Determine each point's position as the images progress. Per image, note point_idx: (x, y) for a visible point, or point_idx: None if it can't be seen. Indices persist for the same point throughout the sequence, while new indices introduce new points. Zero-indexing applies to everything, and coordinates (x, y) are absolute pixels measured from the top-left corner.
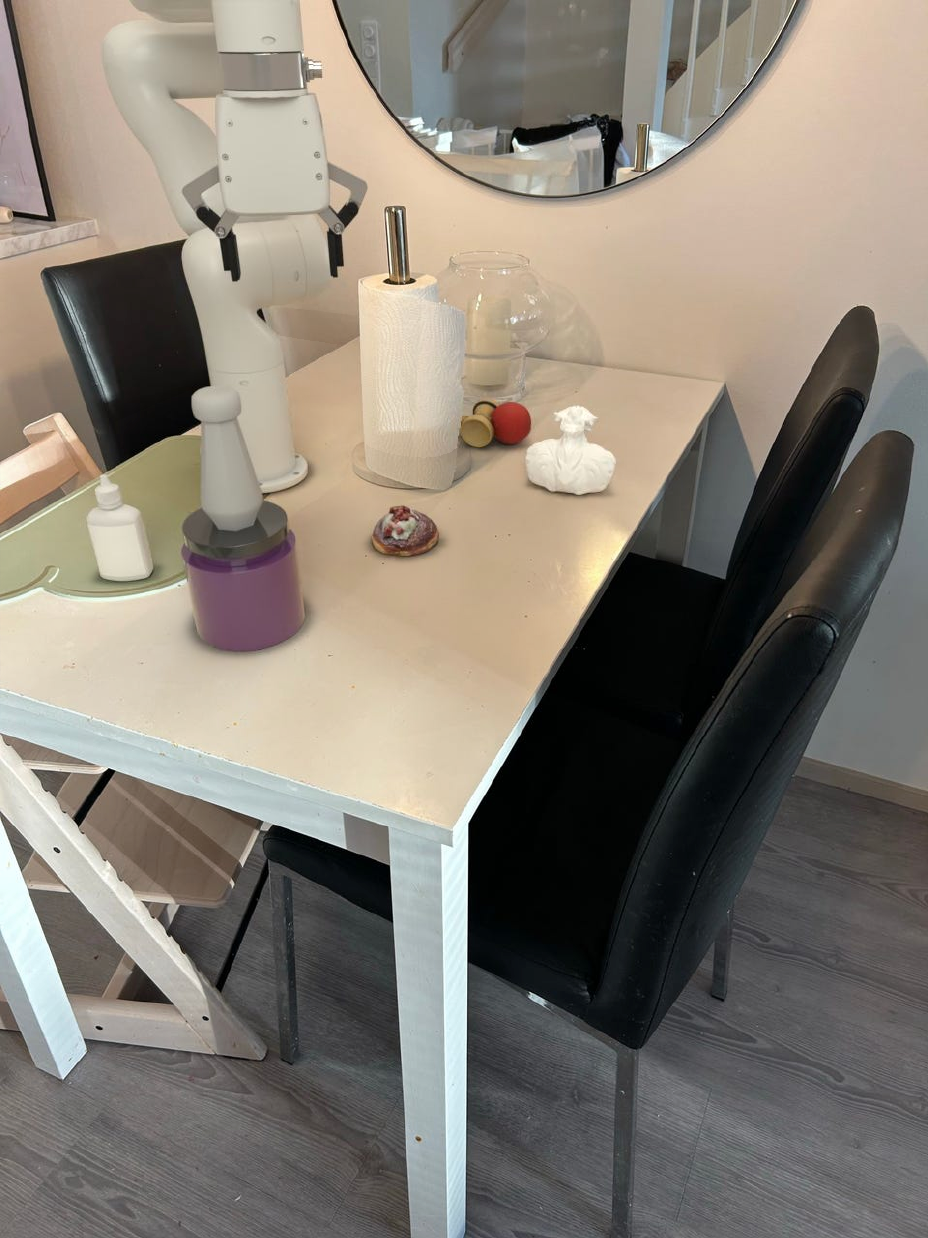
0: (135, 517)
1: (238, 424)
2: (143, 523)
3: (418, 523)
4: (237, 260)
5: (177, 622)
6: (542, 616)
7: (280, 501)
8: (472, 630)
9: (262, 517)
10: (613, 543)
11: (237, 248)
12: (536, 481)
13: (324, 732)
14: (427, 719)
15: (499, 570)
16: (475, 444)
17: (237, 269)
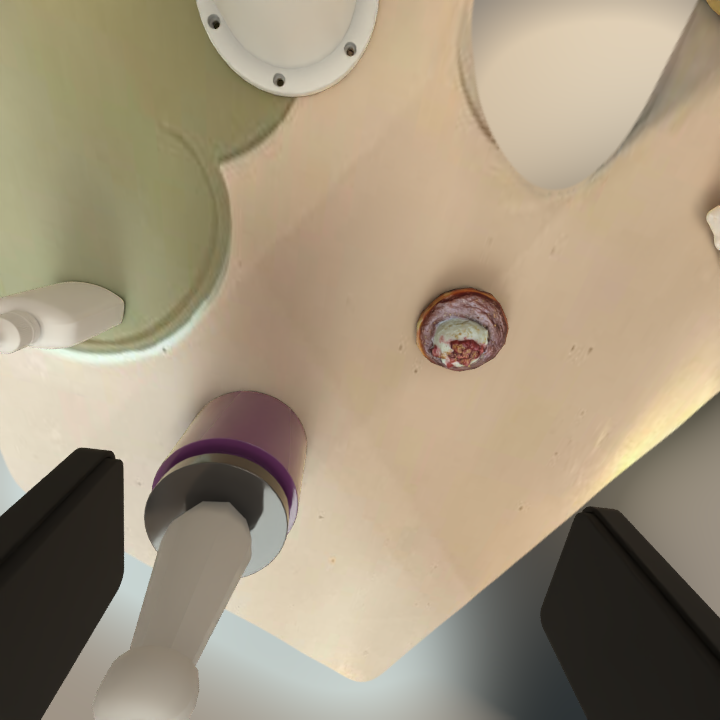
0: (72, 344)
1: (198, 648)
2: (88, 319)
3: (482, 354)
4: (75, 617)
5: (168, 425)
6: (535, 512)
7: (311, 134)
8: (462, 515)
9: (253, 522)
10: (691, 406)
11: (39, 552)
12: (711, 226)
13: (299, 602)
14: (381, 607)
15: (537, 424)
16: (714, 3)
17: (95, 624)
